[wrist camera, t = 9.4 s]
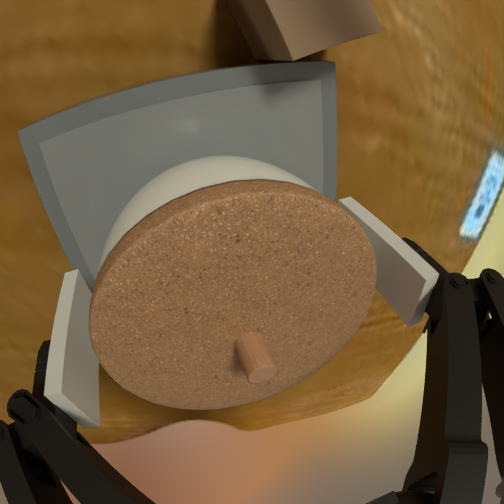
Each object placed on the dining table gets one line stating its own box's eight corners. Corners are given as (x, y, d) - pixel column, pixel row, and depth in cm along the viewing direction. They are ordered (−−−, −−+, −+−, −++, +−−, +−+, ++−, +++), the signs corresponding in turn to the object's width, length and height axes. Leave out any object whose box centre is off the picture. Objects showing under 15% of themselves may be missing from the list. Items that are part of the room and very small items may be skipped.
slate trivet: (121, 325, 22) (122, 352, 20) (34, 121, 12) (16, 132, 10) (315, 270, 25) (330, 291, 23) (312, 59, 15) (336, 61, 13)
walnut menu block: (254, 59, 15) (293, 60, 11) (217, -14, 11) (243, -41, 8) (327, 32, 15) (381, 31, 11) (296, -37, 11) (344, -58, 8)
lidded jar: (233, 317, 21) (282, 439, 14) (79, 270, 15) (62, 426, 8) (330, 189, 18) (443, 290, 10) (166, 88, 12) (196, 127, 5)
